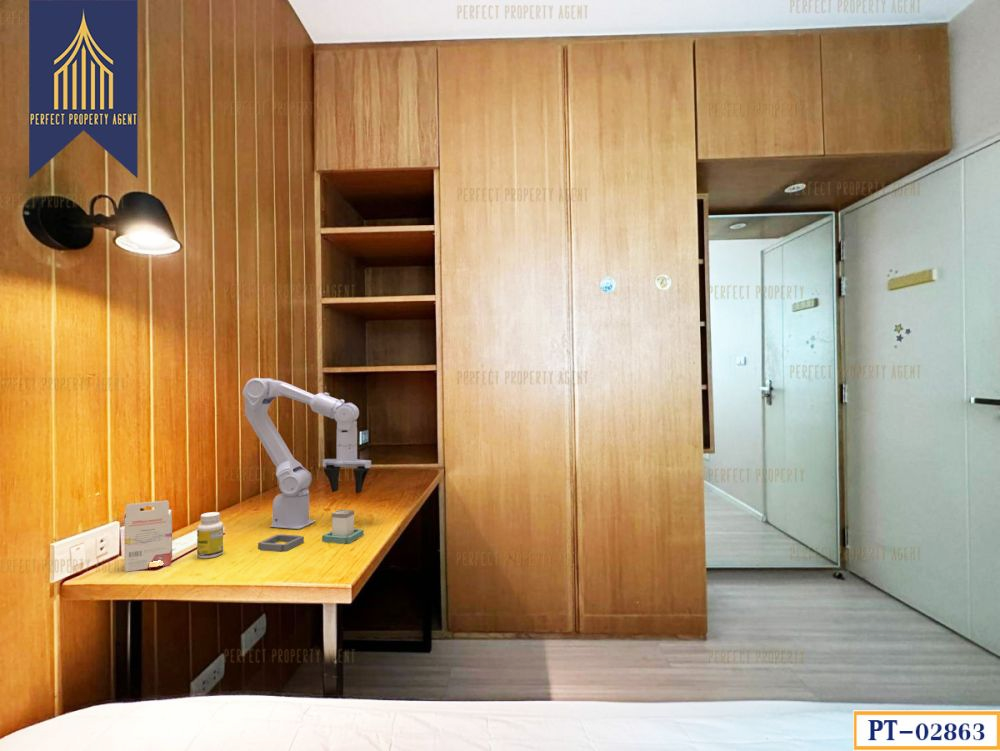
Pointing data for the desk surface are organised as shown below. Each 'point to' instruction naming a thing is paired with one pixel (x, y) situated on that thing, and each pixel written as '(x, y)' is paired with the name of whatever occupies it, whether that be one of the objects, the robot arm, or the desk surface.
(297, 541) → the socket
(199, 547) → the supplement bottle
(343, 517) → the plug
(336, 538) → the socket
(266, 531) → the desk surface
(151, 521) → the ink cartridge box
